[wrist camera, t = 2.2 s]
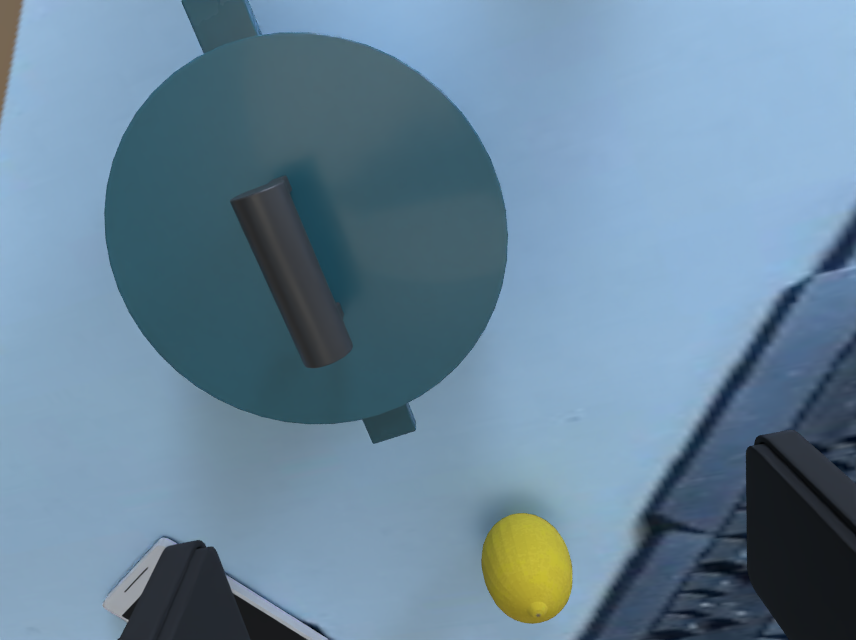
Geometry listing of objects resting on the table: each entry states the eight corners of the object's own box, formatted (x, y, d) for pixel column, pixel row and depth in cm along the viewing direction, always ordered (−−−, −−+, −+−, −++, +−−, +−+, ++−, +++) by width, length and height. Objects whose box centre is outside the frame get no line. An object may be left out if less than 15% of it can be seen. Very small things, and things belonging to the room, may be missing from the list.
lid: (433, -31, 26) (441, -63, 20) (547, 350, 32) (578, 412, 26) (39, 118, 27) (-62, 130, 21) (220, 454, 33) (180, 535, 27)
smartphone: (281, 700, 49) (279, 711, 48) (105, 597, 45) (99, 607, 44) (341, 646, 47) (340, 657, 46) (163, 534, 43) (158, 543, 42)
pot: (403, -54, 31) (402, -91, 24) (525, 338, 39) (551, 396, 32) (97, 64, 33) (13, 61, 26) (272, 420, 40) (244, 492, 33)
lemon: (458, 523, 44) (470, 615, 36) (520, 474, 42) (545, 560, 35) (511, 568, 45) (532, 666, 38) (572, 523, 44) (606, 614, 37)
